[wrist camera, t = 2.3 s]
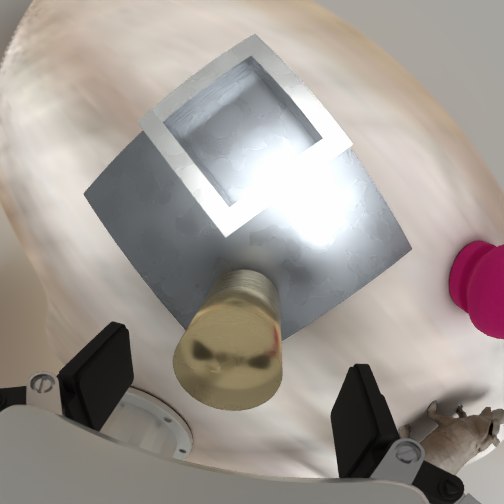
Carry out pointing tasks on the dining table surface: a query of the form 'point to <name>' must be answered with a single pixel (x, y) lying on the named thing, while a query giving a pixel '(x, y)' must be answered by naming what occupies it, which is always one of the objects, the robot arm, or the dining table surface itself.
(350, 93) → the dining table surface
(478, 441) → the rhinoceros figurine
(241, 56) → the plate
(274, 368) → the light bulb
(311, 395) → the dining table surface
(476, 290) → the pepper mill
